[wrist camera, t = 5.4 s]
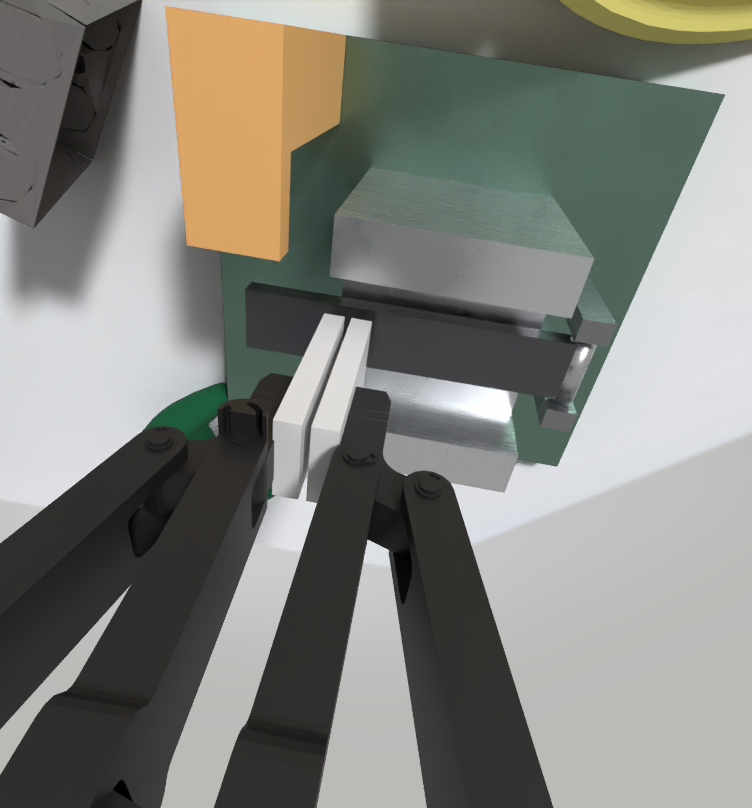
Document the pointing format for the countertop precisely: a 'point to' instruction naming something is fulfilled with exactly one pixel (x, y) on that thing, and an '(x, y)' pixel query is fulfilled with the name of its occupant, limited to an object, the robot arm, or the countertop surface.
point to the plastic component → (671, 19)
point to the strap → (424, 342)
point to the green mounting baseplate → (477, 230)
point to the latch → (246, 122)
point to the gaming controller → (195, 414)
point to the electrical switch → (54, 94)
